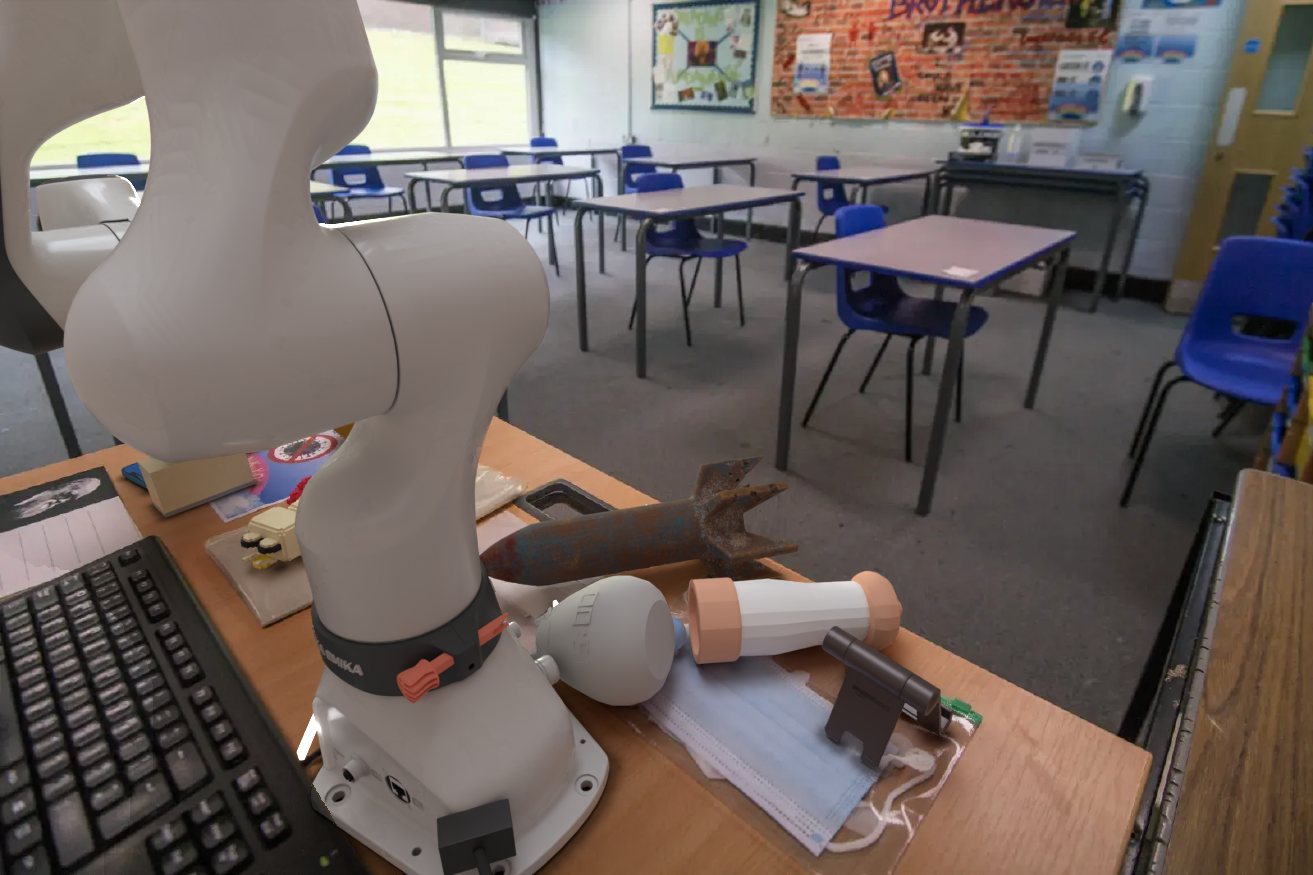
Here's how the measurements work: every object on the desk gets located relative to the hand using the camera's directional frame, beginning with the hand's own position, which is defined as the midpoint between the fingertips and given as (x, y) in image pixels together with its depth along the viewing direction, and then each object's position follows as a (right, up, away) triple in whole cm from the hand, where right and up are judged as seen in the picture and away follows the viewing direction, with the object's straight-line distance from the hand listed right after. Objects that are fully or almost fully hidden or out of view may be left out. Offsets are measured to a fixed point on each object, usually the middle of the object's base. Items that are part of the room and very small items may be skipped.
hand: (174, 447), depth 81 cm
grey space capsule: (+57, -15, -25) cm, 64 cm away
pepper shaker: (+59, -15, -19) cm, 64 cm away
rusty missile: (+39, -11, -15) cm, 43 cm away
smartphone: (-5, -2, +12) cm, 13 cm away
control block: (+1, -6, +4) cm, 7 cm away
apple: (+14, +1, +17) cm, 23 cm away
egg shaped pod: (+51, -15, -12) cm, 55 cm away
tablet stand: (+74, -22, -25) cm, 81 cm away
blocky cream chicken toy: (+20, -8, +1) cm, 21 cm away
